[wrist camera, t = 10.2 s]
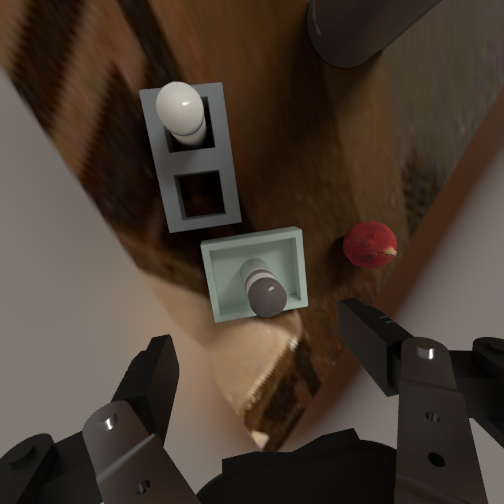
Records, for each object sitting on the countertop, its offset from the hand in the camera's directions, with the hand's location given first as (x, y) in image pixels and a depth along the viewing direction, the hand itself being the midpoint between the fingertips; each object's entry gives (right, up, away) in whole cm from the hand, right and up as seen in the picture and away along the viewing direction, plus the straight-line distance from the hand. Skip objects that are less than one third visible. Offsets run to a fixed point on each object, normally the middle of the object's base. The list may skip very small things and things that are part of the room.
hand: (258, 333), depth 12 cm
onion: (+13, +6, +23) cm, 27 cm away
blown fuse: (0, +1, +21) cm, 21 cm away
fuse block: (-7, +14, +18) cm, 24 cm away
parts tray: (0, +1, +22) cm, 22 cm away
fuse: (-7, +17, +17) cm, 25 cm away
